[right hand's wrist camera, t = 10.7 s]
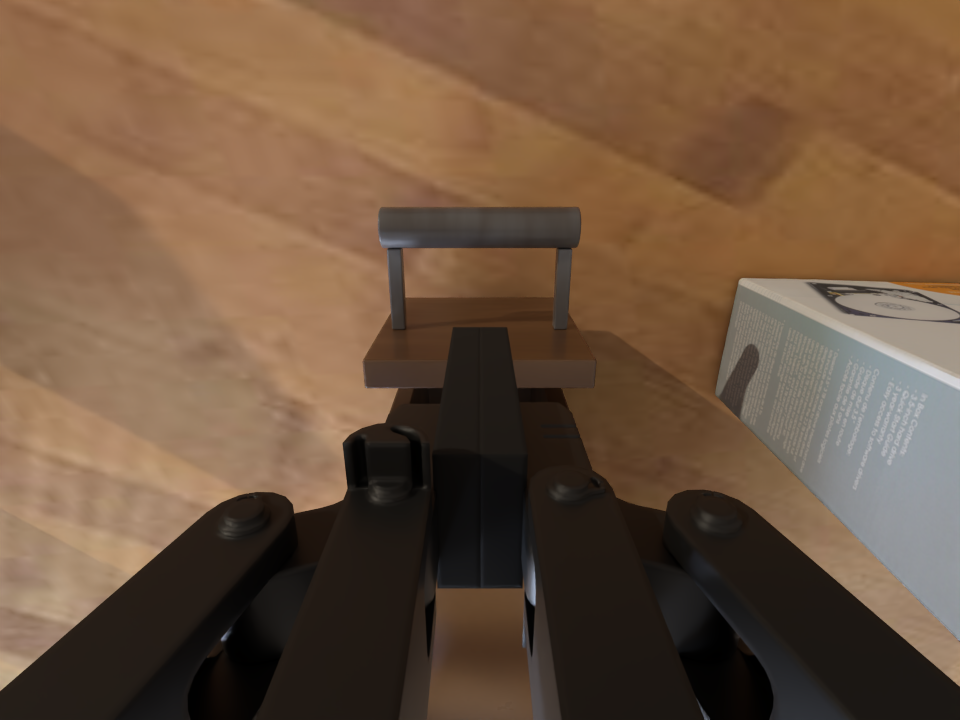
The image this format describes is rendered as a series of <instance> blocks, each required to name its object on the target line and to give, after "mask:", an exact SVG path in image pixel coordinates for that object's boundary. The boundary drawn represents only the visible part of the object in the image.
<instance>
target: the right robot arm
mask: <svg viewBox="0 0 960 720" xmlns="http://www.w3.org/2000/svg"><path fill="white" fill-rule="evenodd" d="M343 451H344V460H345V469H346V478H347V486H348V489H347V492H346V495H345V497H344V500H342V501H340V502H338V503H335V504H333V505H330V506H326V507H323V508H319V509H314V510H309V511H305V512H300V513H295V514H294V510H293V504H292V503H291V502H290V501H289V500H288V499H287V498H286V497H285V496H282V495H279V494H276V493H273V492H255V493H249V494H243V495H239V496H237V497H234V498H232V499H229V500H227V501H224V502H222V503H220V504H219V505H217V506H216V507H214V508H213V509H211V510H210V511H208V512H207V513H205V514H204V515H203V516H202V517H201V518H200V519H199V520H197V521H196V522H195V523H194V524H193V525H192V526H190V527H189V528H188V529H187V530H186V531H185V532H184V533H182V534H181V535H180V536H179V537H178V538H177V539H175V540H174V541H173V542H172V543H171V544H170V545H169V546H167V547H166V548H165V549H164V550H163V551H162V552H160V553H159V554H158V555H157V556H156V557H155V558H154V559H152V560H151V561H150V562H149V563H148V564H147V565H145V566H144V567H143V568H142V569H141V570H140V571H139V572H137V573H136V574H135V575H134V576H133V577H132V578H130V579H129V580H128V581H127V582H126V583H125V584H124V585H122V586H121V587H120V588H119V589H118V590H117V591H115V592H114V593H113V594H112V595H111V596H110V597H109V598H107V599H106V600H105V601H104V602H103V603H102V604H100V605H99V606H98V607H97V608H96V609H95V610H94V611H92V612H91V613H90V614H89V615H88V616H87V617H85V618H84V619H83V620H82V621H81V622H80V623H79V624H77V625H76V626H75V627H74V628H73V629H72V630H70V631H69V632H68V633H67V634H66V635H65V636H63V637H62V638H61V639H60V640H59V641H58V642H57V643H55V644H54V645H53V646H52V647H51V648H50V649H48V650H47V651H46V652H45V653H44V654H43V655H42V656H40V657H39V658H38V659H37V660H36V661H35V662H33V663H32V664H31V665H30V666H29V667H28V668H27V669H25V670H24V671H23V672H22V673H21V674H20V675H18V676H17V677H16V678H15V679H14V680H13V681H12V682H10V683H9V684H8V685H7V686H6V687H5V688H3V689H2V690H1V691H0V720H427V712H428V701H429V690H430V680H431V669H432V658H433V647H434V636H435V626H436V615H437V613H436V582H437V589H523V580H524V613H523V637H522V648H527V657H528V668H529V679H530V690H531V700H532V711H533V720H960V687H959V686H958V685H957V684H956V683H955V682H954V681H952V680H951V679H950V678H949V677H948V676H947V675H945V674H944V673H943V672H942V671H941V670H940V669H938V668H937V667H936V666H935V665H934V664H933V663H931V662H930V661H929V660H928V659H927V658H926V657H924V656H923V655H922V654H921V653H920V652H919V651H917V650H916V649H915V648H914V647H913V646H912V645H910V644H909V643H908V642H907V641H906V640H905V639H903V638H902V637H901V636H900V635H899V634H898V633H896V632H895V631H894V630H893V629H892V628H891V627H890V626H888V625H887V624H886V623H885V622H884V621H883V620H881V619H880V618H879V617H878V616H877V615H876V614H874V613H873V612H872V611H871V610H870V609H869V608H867V607H866V606H865V605H864V604H863V603H862V602H860V601H859V600H858V599H857V598H856V597H855V596H853V595H852V594H851V593H850V592H849V591H848V590H846V589H845V588H844V587H843V586H842V585H841V584H839V583H838V582H837V581H836V580H835V579H834V578H832V577H831V576H830V575H829V574H828V573H827V572H825V571H824V570H823V569H822V568H821V567H820V566H818V565H817V564H816V563H815V562H814V561H813V560H812V559H810V558H809V557H808V556H807V555H806V554H805V553H803V552H802V551H801V550H800V549H799V548H798V547H796V546H795V545H794V544H793V543H792V542H791V541H789V540H788V539H787V538H786V537H785V536H784V535H782V534H781V533H780V532H779V531H778V530H777V529H775V528H774V527H773V526H772V525H771V524H770V523H768V522H767V521H766V520H765V519H764V518H763V517H761V516H760V515H759V514H758V513H757V512H756V511H754V510H753V509H752V508H750V507H749V506H747V505H746V504H744V503H743V502H741V501H740V500H737V499H735V498H732V497H730V496H727V495H725V494H722V493H719V492H715V491H714V492H713V491H708V490H686V491H683V492H680V493H677V494H675V495H674V496H673V497H672V498H671V499H670V500H669V501H668V504H667V510H666V511H662V510H657V509H652V508H647V507H642V506H638V505H635V504H631V503H627V502H625V501H623V500H621V499H618V498H616V496H615V494H614V491H613V489H612V487H611V486H610V484H609V483H608V482H607V480H606V479H605V478H603V477H602V476H600V475H599V474H597V473H596V472H594V471H593V470H592V467H591V465H590V462H589V459H588V456H587V454H586V451H585V448H584V445H583V443H582V440H581V438H580V434H579V432H578V429H577V428H576V423H575V421H574V418H573V415H572V413H571V412H570V411H569V410H568V409H566V408H565V407H564V406H563V405H561V404H560V403H559V402H519V397H518V391H517V385H516V378H515V372H514V366H513V360H512V354H511V348H510V342H509V336H508V329H507V327H453V329H452V336H451V342H450V348H449V354H448V360H447V366H446V372H445V378H444V385H443V391H442V397H441V403H440V404H401V405H400V406H398V407H397V408H396V409H395V410H393V411H392V412H391V413H390V414H388V417H387V420H386V423H382V424H375V425H372V426H368V427H365V428H361V429H360V430H358V431H356V432H354V433H352V434H351V435H349V436H348V438H347V439H346V440H345V441H344V442H343Z"/></svg>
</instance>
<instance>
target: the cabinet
mask: <svg viewBox="0 0 960 720" xmlns="http://www.w3.org/2000/svg"><path fill="white" fill-rule="evenodd" d="M436 613H437V615H436V626H435V636H434V647H433V658H432V669H431V680H430V690H429V701H428V712H427V720H533V711H532V700H531V690H530V679H529V668H528V657H527V648H522V637H523V613H524V580H523V589H437V582H436Z"/></svg>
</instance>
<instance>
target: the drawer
mask: <svg viewBox="0 0 960 720" xmlns="http://www.w3.org/2000/svg"><path fill="white" fill-rule="evenodd" d="M378 233H379V240H380V244H381V246H382V248H388V249H387V258H388V274H389V289H390V304H391V314H390V315H389V317H388V319H387V320H386V322H385V324H384V326H383V327H382V329H381V331H380V332H379V334H378V336H377V337H376V339H375V341H374V343H373V344H372V346H371V348H370V349H369V351H368V353H367V354H366V356H365V358H364V359H363V370H364V381H365V387H366V388H398V391H397V394H396V396H395V399H394V402H393V405H392V408H391V410H390V413H391V412H392V411H393V410H395V409H396V408H397V407H398V406H400V405H401V404H440V403H441V397H442V391H443V385H444V378H445V372H446V366H447V360H448V354H449V348H450V342H451V336H452V329H453V327H507V329H508V336H509V342H510V348H511V354H512V360H513V366H514V372H515V378H516V385H517V391H518V397H519V402H559V403H560V404H561V405H563V406H564V407H565V408H566V409H568V410H569V408H568V405H567V403H566V400H565V397H564V394H563V391H562V389H561V388H593V387H594V383H595V372H596V359H595V357H594V356H593V354H592V352H591V351H590V349H589V347H588V345H587V344H586V342H585V340H584V339H583V337H582V335H581V333H580V332H579V330H578V328H577V327H576V325H575V323H574V321H573V320H572V318H571V316H570V315H569V313H568V308H569V292H570V277H571V261H572V249H571V248H576V247H577V246H578V244H579V240H580V233H581V214H580V209H579V208H578V207H381V208H380V210H379V214H378ZM403 248H556V266H555V285H554V298H405V281H404V263H403ZM390 413H389V414H390Z"/></svg>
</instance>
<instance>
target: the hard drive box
mask: <svg viewBox="0 0 960 720" xmlns="http://www.w3.org/2000/svg"><path fill="white" fill-rule="evenodd" d="M715 395H716V396H717V397H718V398H719V399H720V400H721V401H722V402H723V403H724V404H725V405H726V406H727V407H728V408H729V409H730V410H731V411H732V412H733V413H734V414H735V415H736V416H737V417H738V418H739V419H740V420H741V421H742V422H743V423H744V424H745V425H746V426H747V427H748V428H749V429H750V430H751V431H752V432H753V433H754V434H755V435H756V437H757V438H758V439H759V440H760V441H761V442H762V443H763V444H765V445H766V446H767V448H768V449H769V450H770V451H771V452H772V453H773V454H774V455H775V456H776V457H777V458H778V459H779V460H780V461H781V462H782V463H783V464H784V465H785V466H786V467H787V468H788V469H789V470H790V471H791V472H792V473H793V474H794V475H795V476H796V477H797V478H798V479H799V480H800V481H801V482H802V483H803V484H804V485H805V486H806V487H807V488H808V489H809V490H810V491H811V492H812V493H813V494H814V495H815V496H816V497H817V498H818V499H819V500H820V501H821V502H822V503H823V504H824V505H825V506H826V507H827V508H828V509H829V510H830V511H831V512H832V513H833V514H834V515H835V516H836V517H837V518H838V519H839V520H840V521H841V522H842V523H843V524H844V525H845V526H846V527H847V528H848V529H849V530H850V531H851V532H852V533H853V534H854V535H855V536H856V537H857V538H858V539H859V541H860V542H861V543H862V544H863V545H864V546H865V547H866V548H867V549H868V550H869V551H870V552H871V553H872V554H873V555H874V556H875V557H876V558H877V559H878V560H879V561H880V562H881V563H882V564H883V565H884V566H885V567H886V568H887V569H888V570H889V571H890V572H891V573H892V574H893V575H894V576H895V577H896V578H897V579H898V580H899V581H900V582H901V583H902V584H903V585H904V586H905V587H906V588H907V589H908V590H909V591H910V592H911V593H912V594H913V595H914V596H915V597H916V598H917V599H918V600H919V601H920V602H921V603H922V604H923V605H924V606H925V607H926V608H927V609H928V610H929V611H930V612H931V613H932V614H933V615H934V616H935V617H936V618H937V619H938V620H939V621H940V622H941V623H942V624H943V625H944V626H945V627H946V628H947V629H948V630H949V631H950V632H951V633H952V634H953V635H954V636H955V637H956V638H957V639H958V640H959V641H960V284H959V283H914V282H877V281H845V280H820V279H764V278H741V279H740V280H739V283H738V287H737V291H736V296H735V301H734V305H733V310H732V314H731V319H730V323H729V328H728V332H727V337H726V342H725V347H724V351H723V356H722V360H721V365H720V370H719V375H718V381H717V386H716V391H715Z"/></svg>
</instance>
